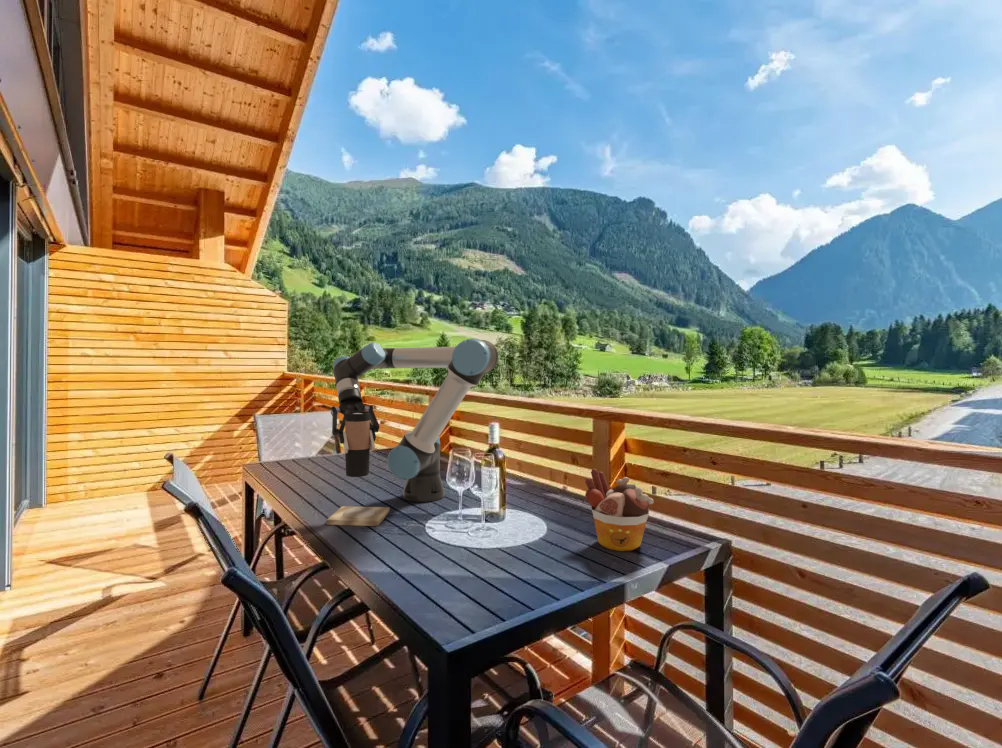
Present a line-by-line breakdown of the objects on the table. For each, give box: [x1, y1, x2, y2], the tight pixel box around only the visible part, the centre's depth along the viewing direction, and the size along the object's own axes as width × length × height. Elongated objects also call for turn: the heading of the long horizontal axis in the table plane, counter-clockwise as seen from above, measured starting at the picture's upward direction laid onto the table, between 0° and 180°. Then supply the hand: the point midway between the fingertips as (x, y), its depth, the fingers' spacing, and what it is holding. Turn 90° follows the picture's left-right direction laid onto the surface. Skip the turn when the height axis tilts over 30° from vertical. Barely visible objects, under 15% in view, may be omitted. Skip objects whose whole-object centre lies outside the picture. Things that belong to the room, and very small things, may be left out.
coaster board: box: [326, 505, 390, 527], centre depth 163 cm, size 16×14×2 cm
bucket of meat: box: [584, 468, 654, 552], centre depth 143 cm, size 20×16×20 cm
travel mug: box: [344, 410, 371, 478], centre depth 163 cm, size 8×8×20 cm
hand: (360, 449), depth 160 cm, fingers closed on travel mug, 7 cm apart
